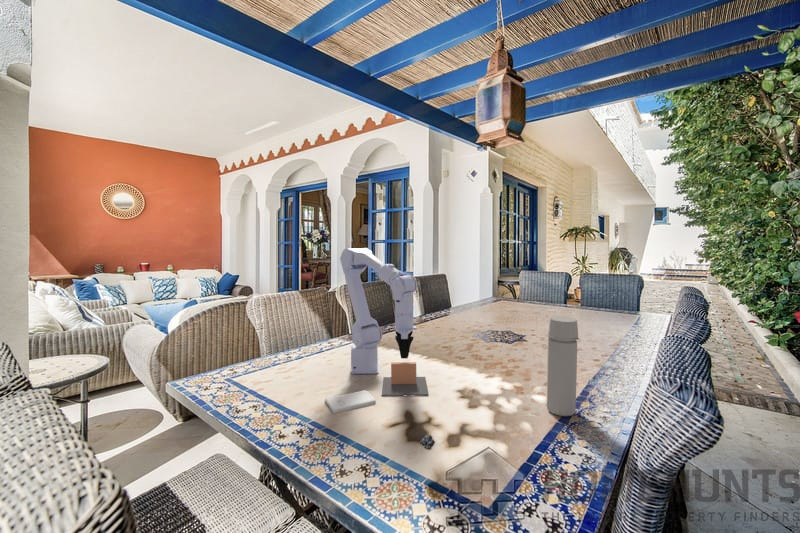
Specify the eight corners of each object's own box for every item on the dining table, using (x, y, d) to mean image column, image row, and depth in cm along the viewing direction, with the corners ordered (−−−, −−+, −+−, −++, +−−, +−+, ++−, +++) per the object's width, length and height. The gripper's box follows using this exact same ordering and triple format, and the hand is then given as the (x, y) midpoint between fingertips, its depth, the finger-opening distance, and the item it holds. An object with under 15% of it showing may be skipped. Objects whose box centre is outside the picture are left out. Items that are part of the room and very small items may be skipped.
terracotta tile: (391, 383, 115) (391, 364, 115) (391, 381, 117) (391, 362, 116) (416, 383, 115) (416, 363, 115) (416, 381, 117) (415, 362, 116)
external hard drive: (375, 405, 102) (333, 415, 97) (365, 394, 109) (325, 403, 104) (375, 399, 102) (333, 409, 96) (365, 389, 109) (325, 397, 104)
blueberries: (442, 437, 86) (442, 429, 86) (447, 453, 78) (447, 445, 78) (414, 438, 86) (413, 430, 86) (416, 455, 78) (416, 446, 78)
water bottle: (575, 420, 91) (577, 323, 89) (542, 413, 95) (544, 320, 94) (579, 406, 99) (581, 316, 97) (548, 400, 103) (550, 314, 101)
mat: (381, 396, 107) (381, 394, 107) (383, 378, 121) (383, 377, 121) (428, 395, 107) (428, 394, 107) (425, 377, 121) (425, 376, 121)
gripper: (417, 318, 107) (418, 362, 108) (415, 309, 122) (415, 348, 123) (394, 318, 107) (394, 363, 108) (394, 309, 122) (395, 348, 122)
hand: (404, 355), depth 115 cm, fingers open, 5 cm apart
